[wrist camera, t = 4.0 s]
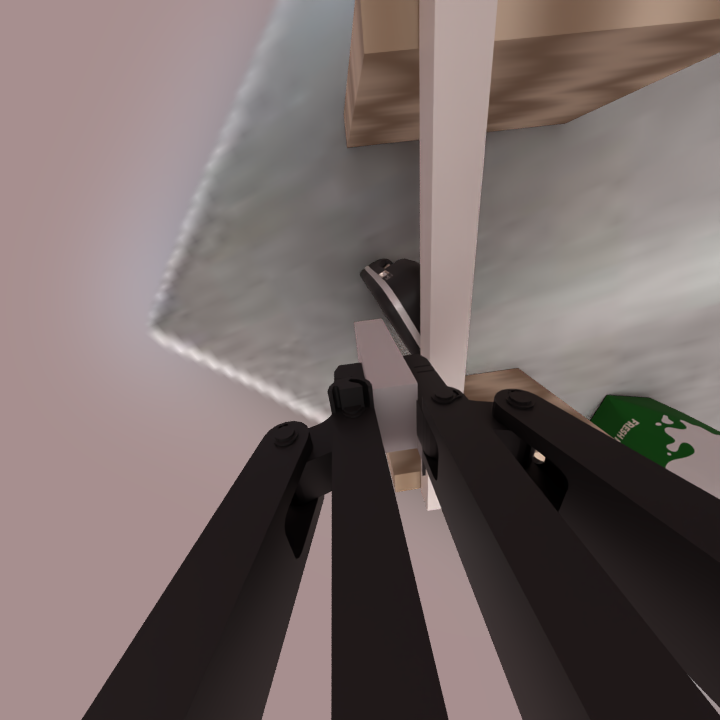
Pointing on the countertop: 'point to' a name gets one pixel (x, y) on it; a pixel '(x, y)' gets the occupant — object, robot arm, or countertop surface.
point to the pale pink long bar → (451, 177)
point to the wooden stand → (521, 93)
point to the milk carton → (664, 438)
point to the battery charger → (397, 296)
